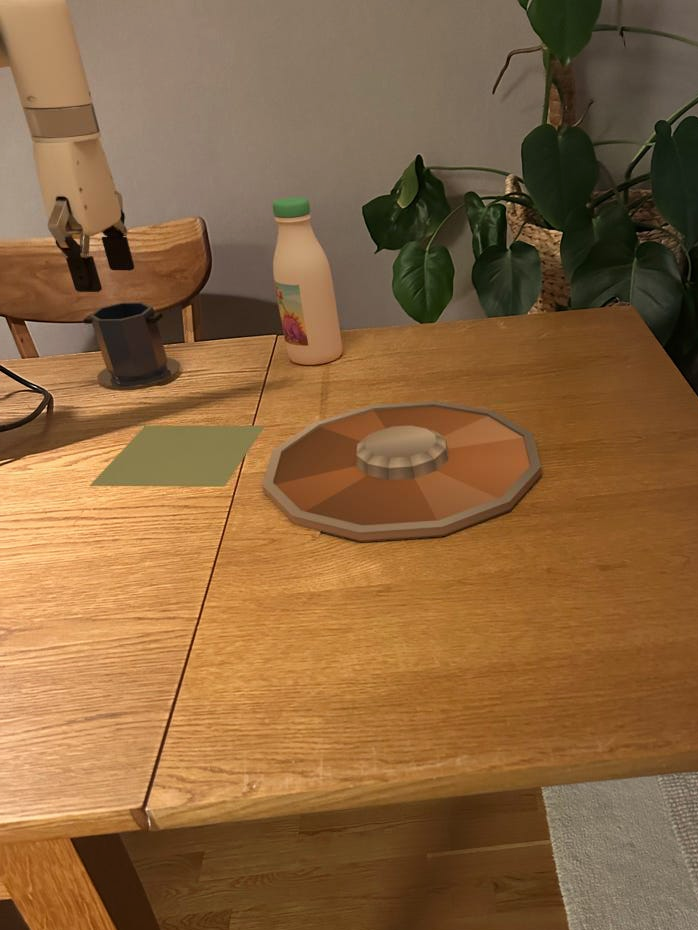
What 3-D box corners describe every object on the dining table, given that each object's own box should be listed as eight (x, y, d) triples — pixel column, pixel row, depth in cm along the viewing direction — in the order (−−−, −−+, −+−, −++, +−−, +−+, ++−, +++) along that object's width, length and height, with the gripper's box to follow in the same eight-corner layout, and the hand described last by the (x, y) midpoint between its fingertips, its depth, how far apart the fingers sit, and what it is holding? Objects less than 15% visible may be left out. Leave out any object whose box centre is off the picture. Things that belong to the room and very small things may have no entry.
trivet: (84, 392, 111) (82, 386, 111) (119, 362, 120) (117, 356, 119) (164, 392, 110) (162, 386, 110) (193, 361, 119) (191, 356, 118)
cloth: (90, 487, 90) (89, 485, 90) (145, 428, 102) (144, 425, 101) (225, 488, 89) (224, 486, 88) (265, 427, 100) (264, 425, 100)
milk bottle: (337, 343, 122) (315, 191, 110) (348, 361, 116) (325, 202, 104) (284, 351, 120) (255, 197, 108) (292, 369, 115) (263, 209, 102)
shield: (316, 380, 102) (560, 390, 97) (320, 405, 104) (559, 416, 99) (206, 503, 80) (517, 525, 74) (215, 532, 82) (517, 555, 76)
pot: (93, 381, 112) (72, 321, 107) (116, 361, 118) (98, 302, 113) (163, 381, 111) (145, 319, 106) (183, 360, 117) (167, 301, 112)
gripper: (67, 114, 103) (107, 262, 114) (-9, 135, 90) (45, 300, 100) (125, 114, 103) (160, 262, 113) (58, 134, 89) (105, 300, 100)
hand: (106, 280), depth 107 cm, fingers open, 9 cm apart
